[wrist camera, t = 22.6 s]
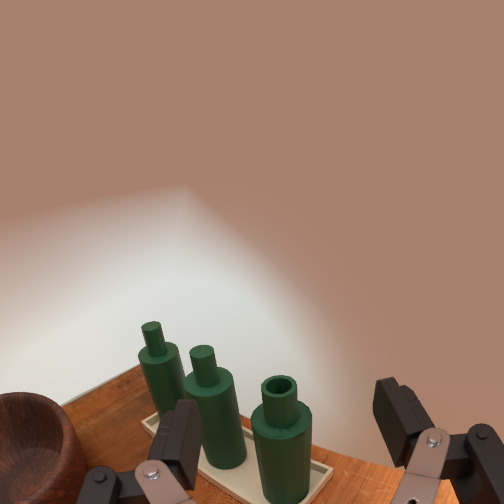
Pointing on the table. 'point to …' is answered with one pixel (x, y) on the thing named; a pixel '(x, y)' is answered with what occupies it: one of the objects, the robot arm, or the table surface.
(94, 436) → the table surface
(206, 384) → the row bottle
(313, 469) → the tray
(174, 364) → the row bottle
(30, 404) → the wooden bowl
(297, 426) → the bottle
